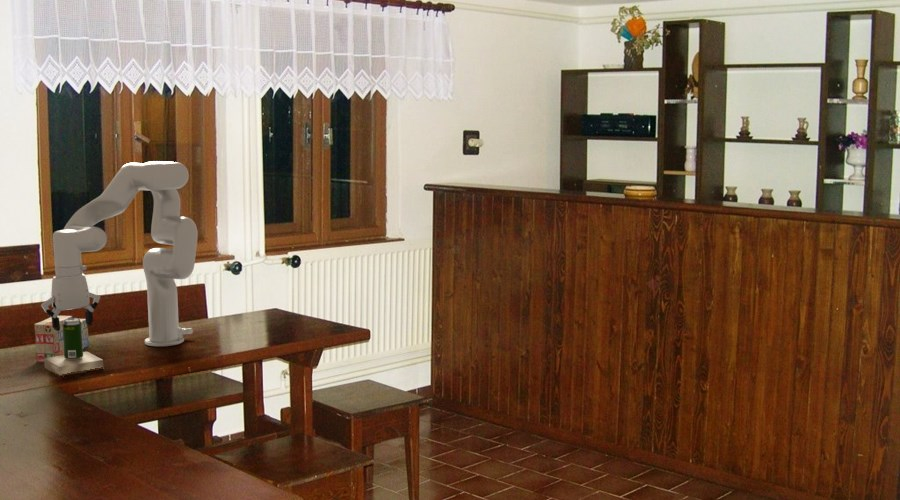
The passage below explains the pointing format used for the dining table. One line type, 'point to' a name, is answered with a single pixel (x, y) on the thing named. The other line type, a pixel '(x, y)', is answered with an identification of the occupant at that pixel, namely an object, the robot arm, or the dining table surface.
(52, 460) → the dining table surface
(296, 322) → the dining table surface
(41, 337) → the stack of blocks
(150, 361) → the dining table surface
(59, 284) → the robot arm
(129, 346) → the dining table surface
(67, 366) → the birch base block
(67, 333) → the beer can
